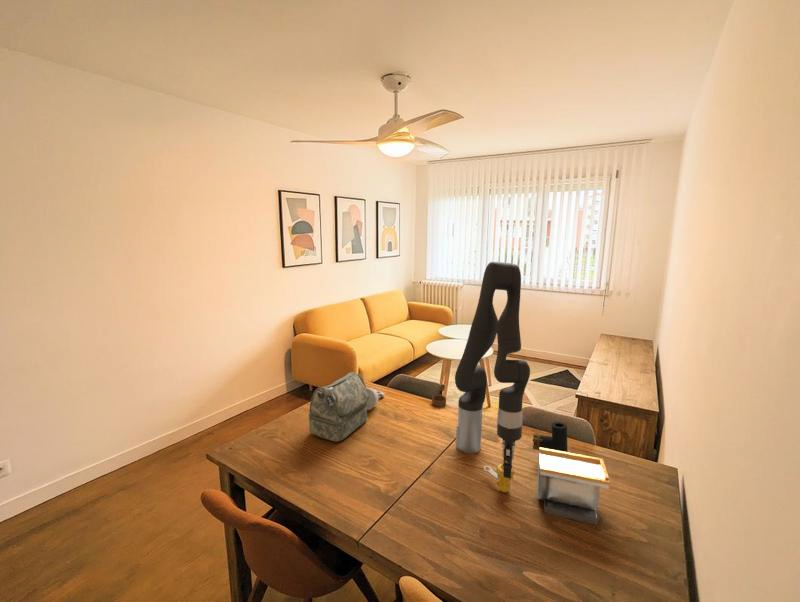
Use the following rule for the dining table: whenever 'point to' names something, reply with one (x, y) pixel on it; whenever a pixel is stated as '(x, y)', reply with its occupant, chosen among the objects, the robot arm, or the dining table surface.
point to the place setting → (439, 398)
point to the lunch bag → (339, 408)
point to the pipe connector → (553, 438)
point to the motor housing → (570, 484)
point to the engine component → (373, 397)
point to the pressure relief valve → (501, 477)
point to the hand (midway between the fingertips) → (507, 469)
